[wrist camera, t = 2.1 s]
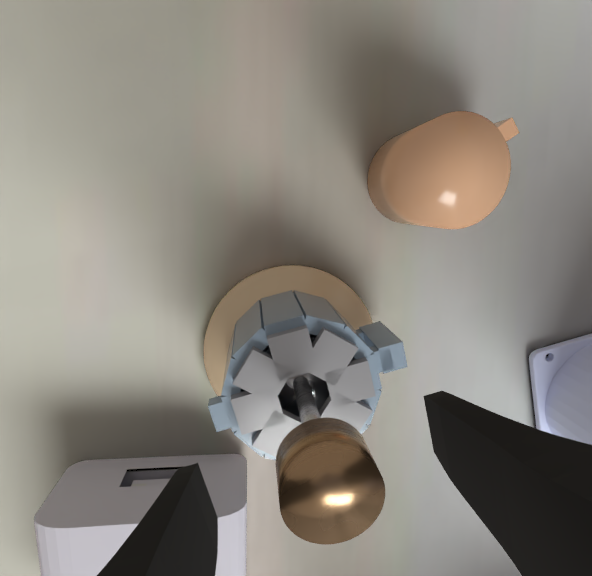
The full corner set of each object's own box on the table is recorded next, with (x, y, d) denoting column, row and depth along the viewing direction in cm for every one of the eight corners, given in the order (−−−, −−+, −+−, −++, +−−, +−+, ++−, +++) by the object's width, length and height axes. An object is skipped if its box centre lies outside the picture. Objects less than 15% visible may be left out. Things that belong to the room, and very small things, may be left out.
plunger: (334, 322, 17) (395, 406, 10) (354, 406, 18) (422, 538, 11) (239, 348, 16) (232, 454, 9) (265, 432, 17) (275, 584, 10)
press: (357, 244, 20) (396, 258, 14) (390, 397, 22) (434, 459, 17) (181, 291, 19) (156, 323, 14) (232, 443, 21) (226, 522, 16)
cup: (395, 240, 20) (437, 250, 16) (351, 166, 19) (382, 155, 14) (486, 177, 20) (555, 169, 15) (447, 99, 19) (508, 66, 14)
